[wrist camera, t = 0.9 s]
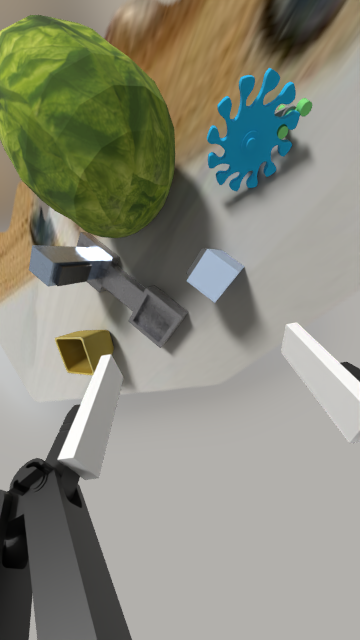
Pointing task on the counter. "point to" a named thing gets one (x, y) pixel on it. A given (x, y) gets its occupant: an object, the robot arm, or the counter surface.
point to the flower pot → (84, 350)
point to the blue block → (213, 272)
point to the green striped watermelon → (84, 126)
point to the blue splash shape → (255, 130)
